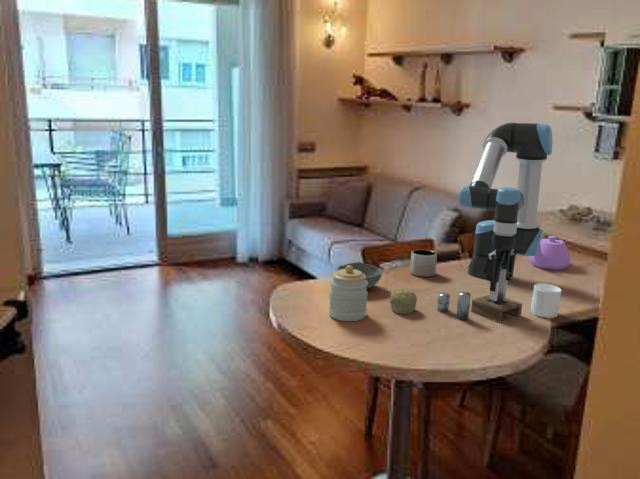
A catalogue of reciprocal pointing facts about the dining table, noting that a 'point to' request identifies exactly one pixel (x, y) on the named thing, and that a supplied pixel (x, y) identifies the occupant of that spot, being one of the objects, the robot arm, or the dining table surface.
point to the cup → (545, 300)
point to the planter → (423, 263)
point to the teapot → (551, 254)
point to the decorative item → (403, 301)
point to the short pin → (443, 302)
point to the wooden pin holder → (495, 308)
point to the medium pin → (463, 306)
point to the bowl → (366, 272)
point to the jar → (348, 295)
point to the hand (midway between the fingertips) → (497, 298)
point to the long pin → (501, 286)
